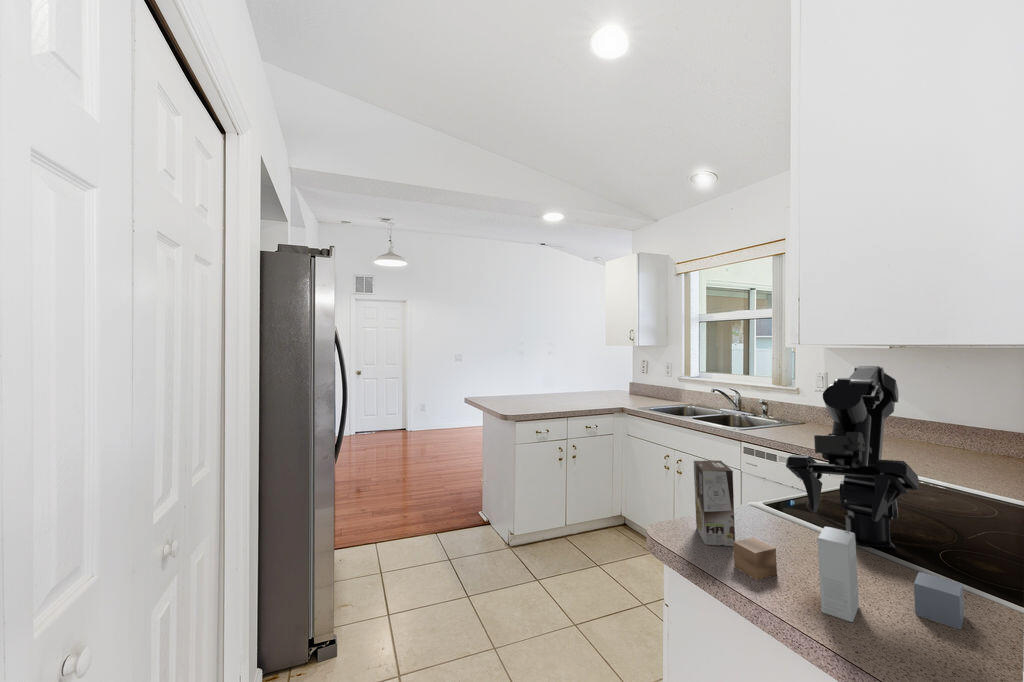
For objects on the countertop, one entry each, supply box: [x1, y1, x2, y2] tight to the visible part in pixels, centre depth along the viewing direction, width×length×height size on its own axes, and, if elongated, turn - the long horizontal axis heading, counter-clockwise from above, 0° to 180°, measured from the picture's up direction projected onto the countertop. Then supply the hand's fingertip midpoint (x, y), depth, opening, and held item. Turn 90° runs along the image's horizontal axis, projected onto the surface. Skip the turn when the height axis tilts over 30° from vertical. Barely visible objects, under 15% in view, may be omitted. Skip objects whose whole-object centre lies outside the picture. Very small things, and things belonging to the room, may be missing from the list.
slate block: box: [913, 571, 965, 630], centre depth 68 cm, size 5×5×5 cm
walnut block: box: [733, 537, 778, 581], centre depth 82 cm, size 5×5×5 cm
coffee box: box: [693, 459, 736, 547], centre depth 97 cm, size 9×6×16 cm
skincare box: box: [817, 526, 860, 623], centre depth 70 cm, size 6×4×12 cm
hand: (842, 515), depth 77 cm, fingers open, 9 cm apart
